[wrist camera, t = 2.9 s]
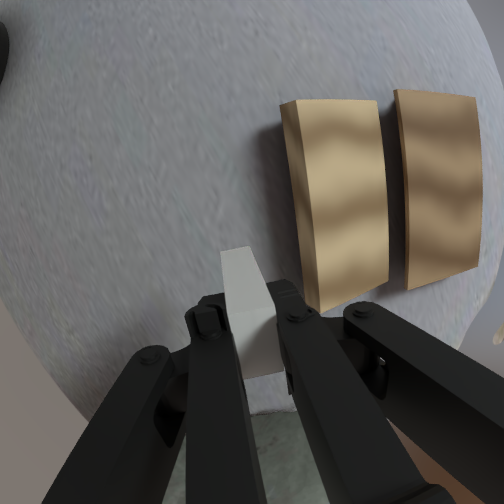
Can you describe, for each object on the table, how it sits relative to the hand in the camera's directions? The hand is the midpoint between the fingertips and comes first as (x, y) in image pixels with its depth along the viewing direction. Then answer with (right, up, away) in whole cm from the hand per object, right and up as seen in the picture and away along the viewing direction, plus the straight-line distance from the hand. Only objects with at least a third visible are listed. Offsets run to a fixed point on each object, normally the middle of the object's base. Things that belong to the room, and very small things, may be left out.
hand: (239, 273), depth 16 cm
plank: (+9, +6, +13) cm, 17 cm away
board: (+20, +9, +14) cm, 26 cm away
